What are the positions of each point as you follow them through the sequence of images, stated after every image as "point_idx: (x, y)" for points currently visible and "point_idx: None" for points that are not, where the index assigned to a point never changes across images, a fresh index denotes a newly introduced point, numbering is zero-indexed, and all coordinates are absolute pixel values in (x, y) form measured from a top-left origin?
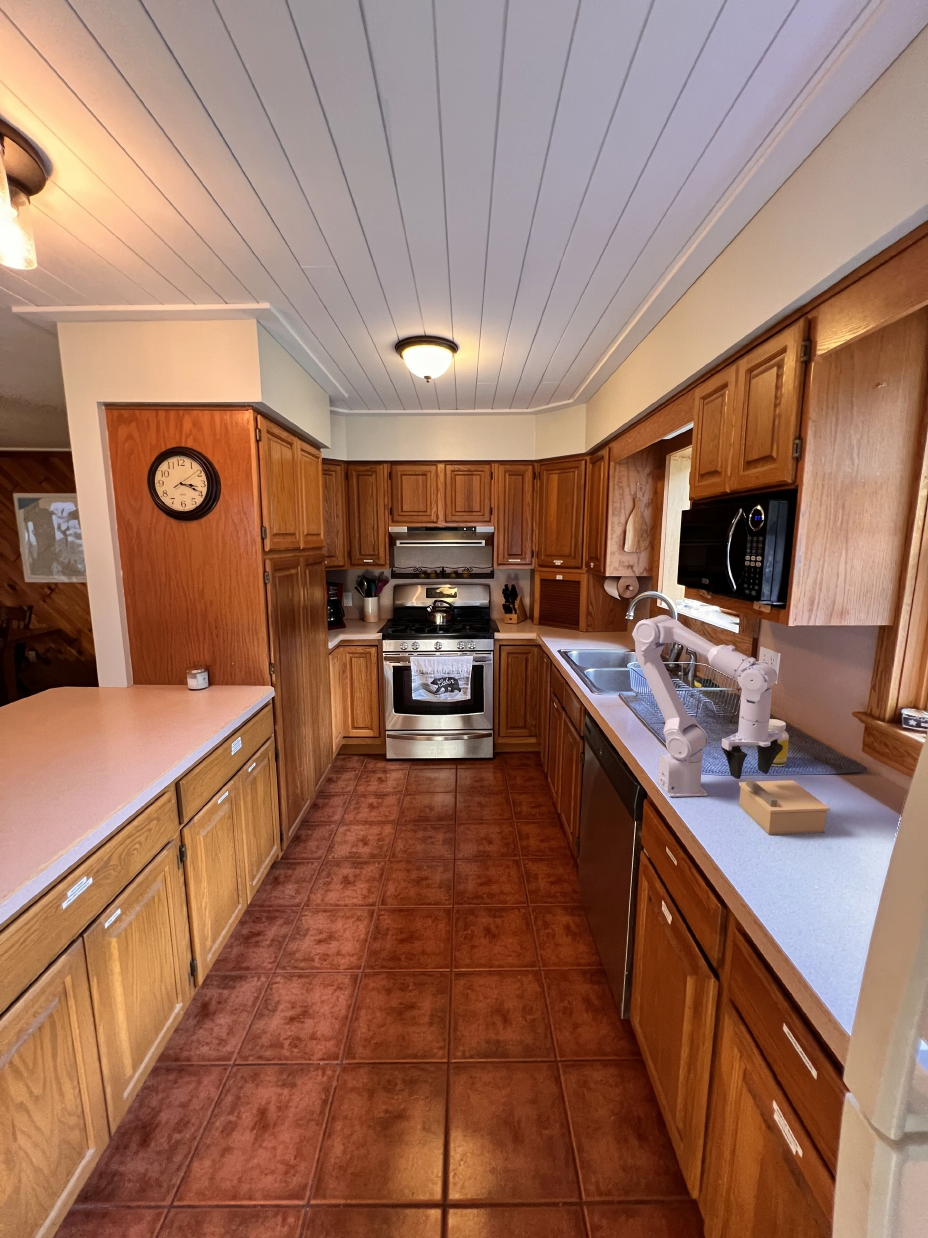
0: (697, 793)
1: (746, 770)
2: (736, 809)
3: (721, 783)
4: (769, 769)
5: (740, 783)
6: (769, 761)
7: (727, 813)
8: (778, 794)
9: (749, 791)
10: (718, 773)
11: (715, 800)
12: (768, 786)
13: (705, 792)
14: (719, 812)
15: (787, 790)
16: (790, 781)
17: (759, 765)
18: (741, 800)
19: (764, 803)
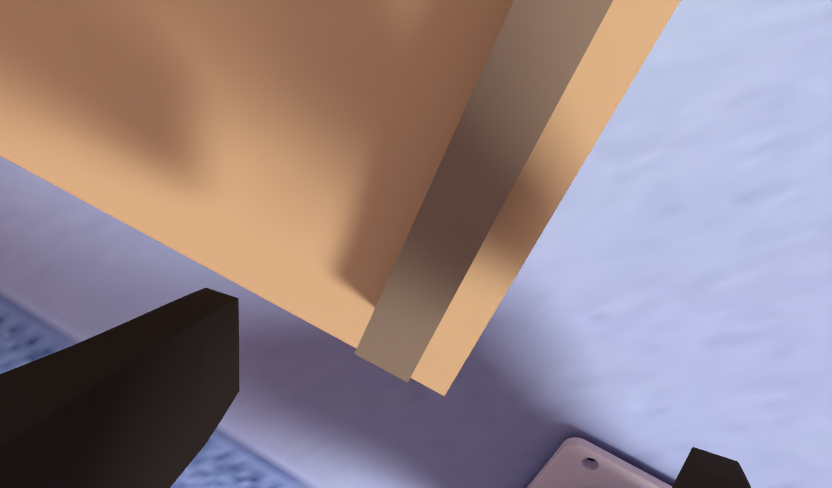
0: (628, 485)
1: None
2: (552, 244)
3: (349, 437)
4: (154, 314)
5: (452, 380)
6: (67, 413)
7: (672, 253)
8: (293, 57)
9: (520, 263)
10: (276, 484)
11: (572, 380)
12: (255, 205)
13: (565, 459)
14: (714, 293)
15: (144, 57)
16: (6, 143)
17: (195, 432)
18: None
19: (647, 10)
